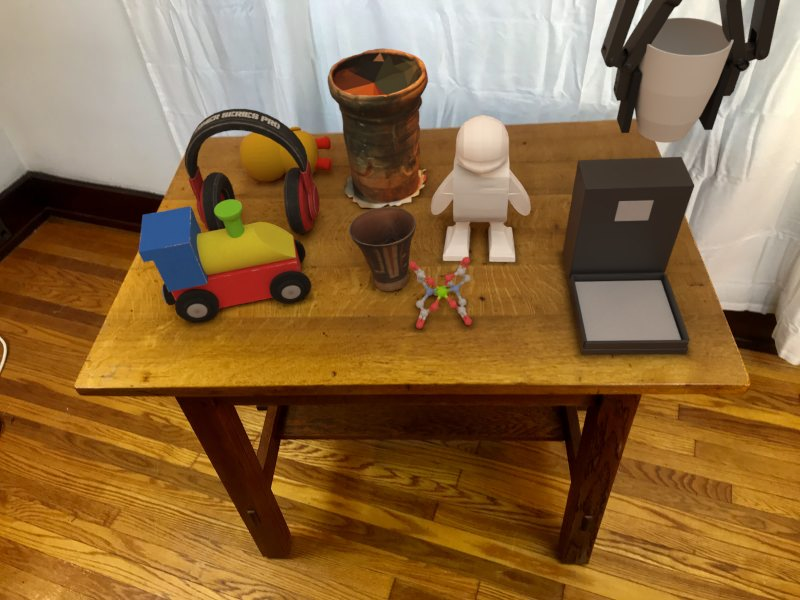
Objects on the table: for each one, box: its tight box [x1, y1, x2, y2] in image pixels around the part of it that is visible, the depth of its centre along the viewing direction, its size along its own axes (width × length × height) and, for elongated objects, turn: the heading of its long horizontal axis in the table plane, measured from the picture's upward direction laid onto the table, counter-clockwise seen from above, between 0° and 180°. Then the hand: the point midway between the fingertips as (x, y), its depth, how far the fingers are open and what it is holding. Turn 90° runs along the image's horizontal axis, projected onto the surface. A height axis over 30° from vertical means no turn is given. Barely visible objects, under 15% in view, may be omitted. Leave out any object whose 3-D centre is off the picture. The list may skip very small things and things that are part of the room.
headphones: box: [184, 108, 321, 235], centre depth 89 cm, size 18×10×20 cm, turn 90°
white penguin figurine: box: [430, 114, 532, 263], centre depth 84 cm, size 14×9×20 cm, turn 84°
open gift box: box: [561, 156, 695, 356], centre depth 76 cm, size 18×12×16 cm
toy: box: [239, 126, 333, 183], centre depth 103 cm, size 9×9×15 cm
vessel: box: [327, 48, 429, 209], centre depth 95 cm, size 14×14×20 cm
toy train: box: [138, 199, 312, 323], centre depth 82 cm, size 9×20×15 cm, turn 102°
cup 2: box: [634, 17, 734, 144], centre depth 62 cm, size 8×8×10 cm
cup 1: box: [348, 206, 417, 292], centre depth 84 cm, size 9×9×10 cm
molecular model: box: [408, 256, 473, 330], centre depth 80 cm, size 7×8×8 cm
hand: (663, 124), depth 65 cm, fingers closed on cup 2, 8 cm apart
